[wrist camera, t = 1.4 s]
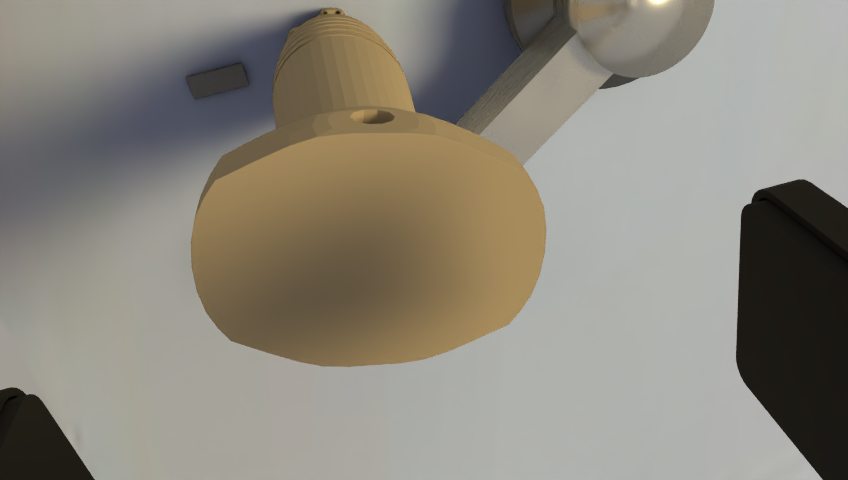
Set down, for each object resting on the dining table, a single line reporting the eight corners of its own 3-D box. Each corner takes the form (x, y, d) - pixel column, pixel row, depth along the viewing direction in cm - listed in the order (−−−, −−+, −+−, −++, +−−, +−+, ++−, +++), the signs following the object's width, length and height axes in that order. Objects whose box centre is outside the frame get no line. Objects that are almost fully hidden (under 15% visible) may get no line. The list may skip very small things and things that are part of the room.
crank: (622, -107, 23) (695, -96, 19) (697, -14, 25) (777, 15, 21) (354, 187, 27) (366, 250, 23) (437, 250, 29) (463, 319, 25)
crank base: (687, 52, 28) (706, 63, 27) (224, 173, 27) (221, 189, 26) (683, -145, 25) (705, -144, 23) (152, -13, 24) (144, -4, 23)
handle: (234, -21, 24) (175, 136, 11) (422, -17, 25) (562, 130, 12) (245, 115, 27) (205, 376, 14) (416, 114, 28) (529, 354, 15)
